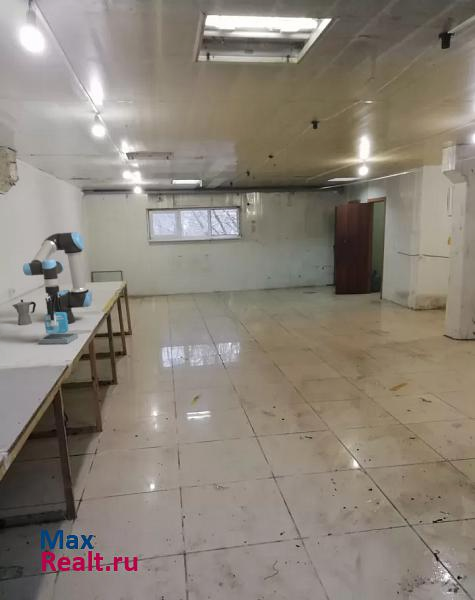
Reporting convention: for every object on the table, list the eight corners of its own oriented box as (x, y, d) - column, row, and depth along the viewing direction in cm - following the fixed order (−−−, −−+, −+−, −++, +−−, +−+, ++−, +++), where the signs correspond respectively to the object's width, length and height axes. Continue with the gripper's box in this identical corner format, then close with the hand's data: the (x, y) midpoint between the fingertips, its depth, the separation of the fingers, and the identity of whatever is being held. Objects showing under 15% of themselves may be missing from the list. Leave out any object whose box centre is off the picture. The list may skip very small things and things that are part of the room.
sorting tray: (50, 338, 264) (50, 333, 263) (77, 337, 262) (77, 333, 261) (38, 344, 250) (38, 339, 250) (67, 344, 249) (66, 339, 248)
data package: (46, 334, 252) (43, 314, 250) (48, 332, 256) (45, 313, 254) (67, 332, 254) (64, 313, 252) (68, 330, 258) (66, 311, 256)
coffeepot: (15, 326, 302) (11, 301, 299) (14, 324, 310) (11, 300, 307) (39, 323, 310) (35, 298, 307) (37, 320, 318) (34, 297, 315)
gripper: (53, 283, 259) (58, 320, 264) (37, 288, 241) (42, 327, 245) (65, 283, 259) (69, 320, 263) (49, 288, 241) (54, 327, 245)
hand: (56, 323), depth 254 cm, fingers closed on data package, 5 cm apart
